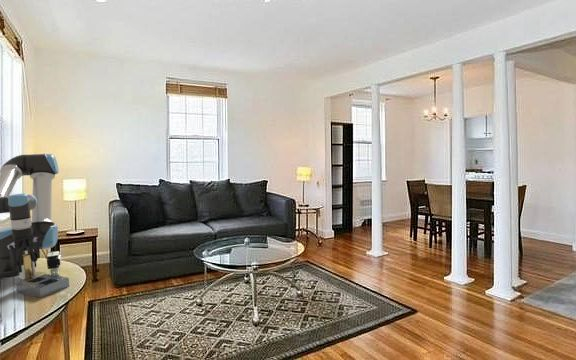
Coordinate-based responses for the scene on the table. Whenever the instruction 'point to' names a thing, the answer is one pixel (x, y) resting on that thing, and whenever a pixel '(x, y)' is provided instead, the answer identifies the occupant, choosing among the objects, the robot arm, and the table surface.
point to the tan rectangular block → (27, 266)
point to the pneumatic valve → (54, 262)
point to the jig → (42, 285)
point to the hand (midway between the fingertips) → (27, 276)
